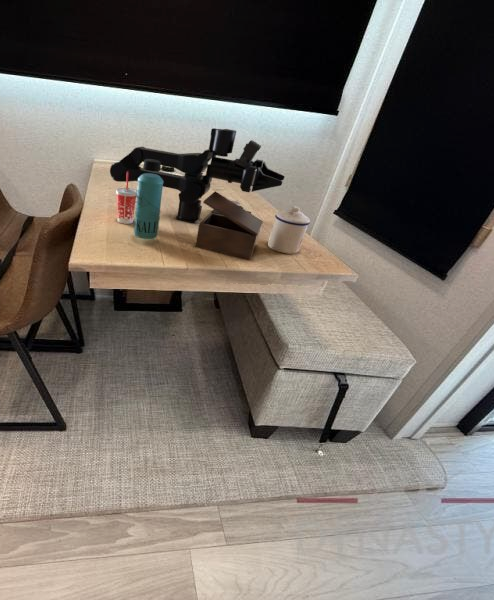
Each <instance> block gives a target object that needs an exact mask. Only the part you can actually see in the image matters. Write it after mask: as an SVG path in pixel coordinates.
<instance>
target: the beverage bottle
mask: <svg viewBox="0 0 494 600" xmlns="http://www.w3.org/2000/svg"><path fill="white" fill-rule="evenodd" d="M161 166H162V165H161V162H160V161H158V160H153V159H145V160H144V162H143V165H142V168H143V169H145V170H148V171H160V172H161V169H162V167H161ZM136 190H137V192H136V193H137V195H136V201H135V212H134V217H133V222H134V223H133V235H134V236H135V237H136V238H139V239H143V240H152V239H155V238H157V236H158V235H159V228H160V219H161V204H162V197H163V180H162V178H161V177H160V176H159V175H156V174H151V173H144V174H142V175H141V176H140V177H139V178H138V181H137V188H136Z"/></svg>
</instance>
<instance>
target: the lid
mask: <svg viewBox="0 0 494 600" xmlns="http://www.w3.org/2000/svg"><path fill="white" fill-rule="evenodd" d="M232 201H233V200H230V199H229V198H227V197H226V196H224V195H222V194H220V193H219V192H217V191H213V192H212V193H211V194H210V195H209V196H207V198H205V199H204V200H203V201H202V203H203V204H204V205H206V206H208V207H209V208H211V209H212V210H213V209H214V210H216V211H217V212H219V213H220V214H222V215H223V216H225V217H227V218H228V219H230V220H231V221H233V222H234V223H236V224H238V225H239V226H241V227H242V228H244V229H245V230H247V231H249V232H250V233H252V234H253V235H255V236H256V235H257V234H258V232H259V229H260V230H261V228H260V227H262V225H263V220H262V219H260V218H259V217H257V216H256V215H254V214H252V212H251V213H249V212H250V211H249V212H247V211H248V210H246V209H244V207H243V208H241V207H240V206H241V205H239V206H238V205H236V204H235V203H233V202H232ZM259 233H260V232H259Z"/></svg>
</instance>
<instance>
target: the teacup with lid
mask: <svg viewBox="0 0 494 600" xmlns="http://www.w3.org/2000/svg"><path fill="white" fill-rule="evenodd" d="M300 210H301V209H300V207H299V206H295V205H294V206H292V207H291V209H286V210H282V211H281V210H280V211H278V212H276V214H275V215H274V221H273V225H272V228H271V231H270V235H269V238H268V241H267V245H268V247H269V248H270V249H271V250H273V251H276V252H278V253H282V254H289V255H291V254H292V255H293V254H294V255H295V254H297V253H299V251H300V248H301V246H302V243H303V240H304V237H305V235H306V232H307V229H308V226H309V225H310V223H311V220H310V218H309V217H308V216H306V215H305V214H304V213H303V212H301V211H300Z"/></svg>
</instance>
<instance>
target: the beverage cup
mask: <svg viewBox="0 0 494 600" xmlns="http://www.w3.org/2000/svg"><path fill="white" fill-rule="evenodd" d="M128 176H129V172H127V182H125V183H126V184H125V185H126V186H125V187H118V188H116V190H115V192H116V208H117V209H116V211H117V213H116V214H117V222H118V223H120V224H125V225H127V224H133V223H134V218H135V210H136V199H137V197H136V196H137V193H136V192H137V189H135V188H130V187H129V182H128Z"/></svg>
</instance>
